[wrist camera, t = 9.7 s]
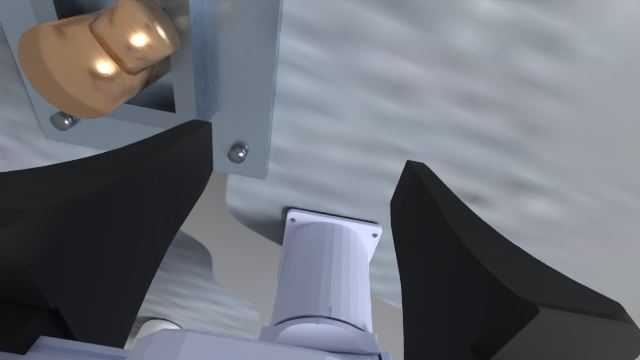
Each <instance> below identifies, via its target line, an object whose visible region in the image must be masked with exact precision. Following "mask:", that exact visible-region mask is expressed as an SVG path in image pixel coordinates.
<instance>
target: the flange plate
mask: <svg viewBox="0 0 640 360" xmlns="http://www.w3.org/2000/svg"><path fill="white" fill-rule="evenodd" d="M117 1H119V0H0V22H1V25H2V27H3V30H4V32H5V35H6V37H7V40H8V43H9V45H10V48H11V50H12V53H13V55H14V58H15V61H16V63H17V66H18V68H19V71H20V73H21V76H22V79H23V81H24V84H25V86H26V89H27V91H28V94H29V97H30V99H31V102H32V104H33V107H34V109H35V112H36V114H37V117H38V120H39V122H40V125H41V127H42V130H43V132H44V135H45V138H46V139H48V140H54V141H59V142H65V143H70V144H75V145H81V146H86V147H91V148H97V149H102V150H108V151H111V150H114V149H117V148H120V147H123V146H126V145H129V144H131V143H134V142H137V141H140V140H142V139H145V138H148V137H150V136H153V135H155V134H158V133H160V132H163V131H165V130H168V129H170V128H172V127H175V126H177V125H180V124H182V123H185V122H187V121H190V120H194V119H197V120H202V121H207V122H212V141H213V170H216V171H220V172H226V173H231V174H236V175H242V176H247V177H253V178H258V179H263V180H265V178H266V175H267V172H268V162H269V151H270V140H271V129H272V118H273V107H274V96H275V85H276V74H277V63H278V52H279V41H280V30H281V19H282V8H283V0H154V1H155V2H156V3H157V4H158V5H159V6H160V7H161V8H162V9H163V10H164V11H165V12H166V14H167V15H168V16H169V18H170V19H171V21H172V23H173V24H174V26H175V28H176V31H177V33H178V36H179V47H178V49H177V50H176V51H174V52H173V53H171V54H170V61H171V71H170V72H169V73H167V74H166V75H165V76H163V77H162V78H160V79H159V80H157V81H156V82H154V83H153V84H151V85H150V86H148V87H147V88H145V89H144V90H142V91H141V92H139V93H138V94H136V95H135V96H133V97H132V98H130V99H129V100H127V101H126V102H124V103H123V104H121V105H120V106H118V107H117V108H115V109H114V110H112V111H111V112H109V113H108V114H106V115H105V116H103V117H100V118H96V119H83V118H78V117H75V116H72V115H69V114H67V113H65V112H63V111H61V110H59V109H57V108H56V107H54V106H53V105H51V104H50V103H49V102H47V101H46V100H45V99H44V98H43V97H42V96H41V95H40V94H39V93H38V92H37V91H36V90H35V89H34V88H33V87H32V85H31V84H30V82H29V81H28V80H27V78H26V76H25V74H24V73H23V70H22V68H21V66H20V62H19V58H18V42H19V39H20V37H21V35H22V34H23V33H24V32H25V31H26V30H27V29H29V28H30V27H33V26H36V25H40V24H44V23H49V22H53V21H57V20H61V19H65V18H70V17H74V16H78V15H82V14H86V13H91V12H95V11H99V10H103V9H107V8H110V7H111V6H112V5H114V4H115V3H116V2H117Z"/></svg>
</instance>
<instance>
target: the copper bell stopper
mask: <svg viewBox="0 0 640 360" xmlns="http://www.w3.org/2000/svg"><path fill="white" fill-rule="evenodd" d="M178 47H179V36H178V33H177V31H176V28H175V26H174V24H173V23H172V21H171V19H170V18H169V16H168V15H167V14H166V12H165V11H164V10H163V9H162V8H161V7H160V6H159V5H158V4H157V3H156V2H155V1H154V0H119V1H117V2H116V3H115V4H114V5H112V6H111V7H110V8H107V9H103V10H99V11H95V12H91V13H86V14H82V15H78V16H74V17H70V18H65V19H61V20H57V21H53V22H49V23H44V24H40V25H36V26H33V27H30V28H29V29H27V30H26V31H25V32H24V33H23V34H22V35H21V37H20V39H19V42H18V58H19V62H20V66H21V68H22V70H23V73H24V74H25V76H26V78H27V80H28V81H29V82H30V84H31V85H32V87H33V88H34V89H35V90H36V91H37V92H38V93H39V94H40V95H41V96H42V97H43V98H44V99H45V100H46V101H47V102H49V103H50V104H51V105H53V106H54V107H56V108H57V109H59V110H61V111H63V112H65V113H67V114H69V115H72V116H75V117H78V118H83V119H96V118H100V117H103V116H105V115H106V114H108V113H109V112H111V111H112V110H114V109H115V108H117V107H118V106H120V105H121V104H123V103H124V102H126V101H127V100H129V99H130V98H132V97H133V96H135V95H136V94H138V93H139V92H141V91H142V90H144V89H145V88H147V87H148V86H150V85H151V84H153V83H154V82H156V81H157V80H159V79H160V78H162V77H163V76H165V75H166V74H167V73H169V72H170V71H171V61H170V54H171V53H173V52H174V51H176V50H177V49H178Z"/></svg>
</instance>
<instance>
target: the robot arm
mask: <svg viewBox="0 0 640 360" xmlns="http://www.w3.org/2000/svg"><path fill="white" fill-rule="evenodd" d="M212 171H213V141H212V122H207V121H202V120H197V119H194V120H190V121H187V122H185V123H182V124H180V125H177V126H175V127H172V128H170V129H168V130H165V131H163V132H160V133H158V134H155V135H153V136H150V137H148V138H145V139H142V140H140V141H137V142H134V143H131V144H129V145H126V146H123V147H120V148H117V149H114V150H111V151H107V152H104V153H100V154H97V155H93V156H89V157H85V158H81V159H77V160H72V161H67V162H62V163H57V164H52V165H47V166H42V167H36V168H29V169H23V170H15V171H8V172H0V360H394V359H393V358H392V357H391V355H390V354H389V353H388V352H386V351H379V353H378V344H377V334H375V333H372V319H371V301H370V282H369V262H370V260H371V258H372V255H373V253H374V250H375V248H376V246H377V243H378V241H379V238H380V236H381V233H382V227H381V226H380V225H378V224H374V223H368V222H363V221H357V220H352V219H346V218H341V217H336V216H330V215H325V214H319V213H314V212H308V211H303V210H297V209H290V210H289V211H288V213H287V219H286V225H285V232H284V238H283V245H282V252H281V258H280V266H279V272H278V280H279V284H278V289H277V293H276V298H275V303H274V307H273V312H272V317H271V322H270V326H269V327H266V326H265V327H262V329H261V334H260V338H259V340H253V339H247V338H241V337H235V336H229V335H223V334H217V333H211V332H205V331H199V330H193V329H168V328H163V329H161V330H158V331H156V332H153V333H151V334H148V335H146V336H143V337H141V338H138V339H137V341H136V342H135V344H134V346H133V348H132V350H126V349H124V346H125V343H126V341H127V338H128V336H129V333H130V331H131V328H132V326H133V323H134V321H135V319H136V316H137V314H138V312H139V309H140V307H141V305H142V302H143V300H144V298H145V295H146V293H147V291H148V289H149V287H150V284H151V282H152V280H153V278H154V276H155V274H156V271H157V269H158V267H159V265H160V263H161V261H162V259H163V257H164V255H165V253H166V251H167V249H168V247H169V245H170V243H171V242H172V240H173V238H174V237H175V235H176V233H177V232H178V230H179V229H180V227H181V225H182V224H183V222H184V221H185V219H186V218H187V216H188V215H189V213H190V211H191V210H192V209H193V207H194V205H195V204H196V202H197V201H198V199H199V197H200V196H201V194H202V193H203V191H204V189H205V187H206V185H207V183H208V181H209V178H210V176H211V173H212ZM390 214H391V228H392V235H393V241H394V246H395V252H396V257H397V263H398V269H399V274H400V282H401V292H402V308H403V332H404V360H635V359H636V358H637V357H638V356H639V355H640V329H639V328H638V326H637V325H636V324H635V322H634V321H633V320H632V318H631V317H630V316H629V314H628V313H627V312H626V310H625V309H624V308H623V306H622V305H621V304H620V303H618V302H616V301H614V300H612V299H610V298H608V297H606V296H604V295H602V294H600V293H598V292H596V291H594V290H592V289H590V288H588V287H586V286H584V285H582V284H580V283H578V282H576V281H574V280H573V279H571V278H569V277H567V276H565V275H564V274H562V273H560V272H558V271H557V270H555V269H553V268H551V267H550V266H548V265H546V264H545V263H543V262H541V261H540V260H538V259H536V258H535V257H533V256H532V255H530V254H529V253H527V252H526V251H524V250H523V249H521V248H520V247H518V246H517V245H515V244H514V243H512V242H511V241H509V240H508V239H507V238H505V237H504V236H502V235H501V234H500V233H499V232H497V231H496V230H495V229H493V228H492V227H491V226H490V225H488V224H487V223H486V222H485V221H483V220H482V219H481V218H480V217H479V216H478V215H476V214H475V213H474V212H473V211H472V210H471V209H470V208H469V207H468V206H466V205H465V204H464V203H463V202H462V201H461V200H460V199H459V198H458V197H457V196H456V195H455V194H454V193H453V192H452V191H451V190H450V189H449V188H448V187H447V186H446V185H445V184H444V183H443V182H442V181H441V179H440V178H439V177H438V176H437V175H436V174H435V173H434V172H433V171H432V170H431V169H430V168H429V167H428V166H427V165H425V164H424V163H421V162H416V161H411V160H407V162H406V164H405V167H404V169H403V172H402V174H401V177H400V179H399V182H398V184H397V187H396V189H395V192H394V194H393V197H392V199H391V202H390ZM291 218H293V219H294V220H292V219H291ZM373 233H376V234H373Z"/></svg>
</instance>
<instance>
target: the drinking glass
mask: <svg viewBox="0 0 640 360" xmlns="http://www.w3.org/2000/svg"><path fill="white" fill-rule="evenodd" d="M163 328H168V329H181V328H180V327H179V326H177V325H176V324H174V323H172V322H169V321H166V320H159V319H155V320H149V321H147V322H145V323H144V324H143V325H142V326H141V328H140V330H139V332H138V333H137V335H136V337H135V339H134V340H133V342H132V343H131V345H130V347H129V348H128V350H132V348H133V346H134V344H135V342H136V341H137V339H138V338H141V337H143V336H146V335H148V334H151V333H153V332H156V331H158V330H161V329H163Z"/></svg>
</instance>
